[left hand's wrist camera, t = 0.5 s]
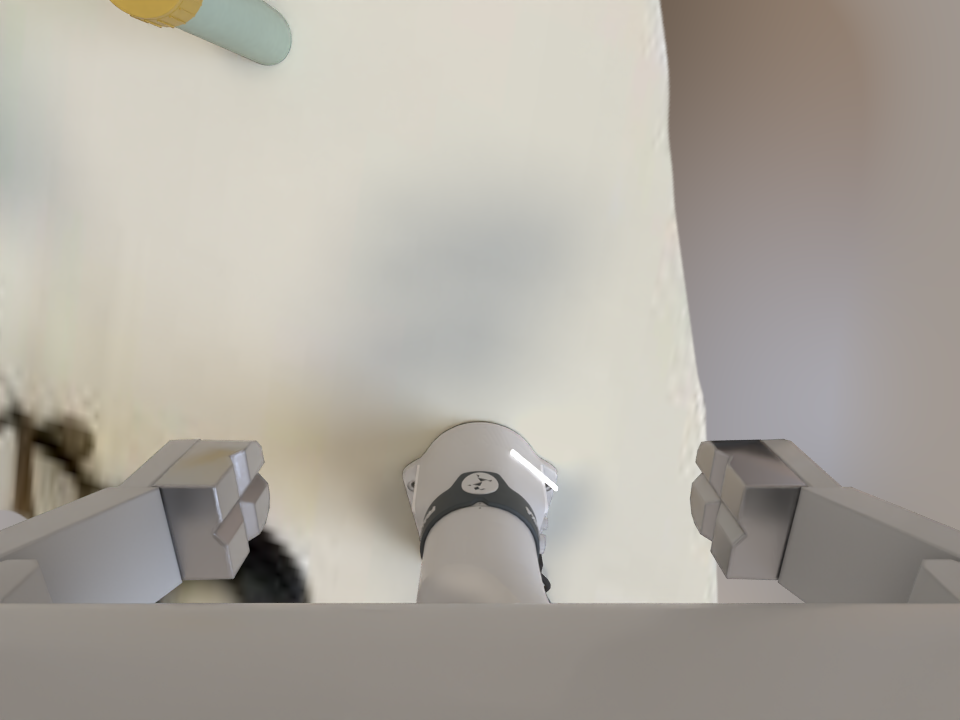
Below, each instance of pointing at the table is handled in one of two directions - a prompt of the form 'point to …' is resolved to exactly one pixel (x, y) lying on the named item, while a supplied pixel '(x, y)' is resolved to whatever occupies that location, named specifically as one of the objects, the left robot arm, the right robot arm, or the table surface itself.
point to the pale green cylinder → (243, 29)
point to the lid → (160, 11)
